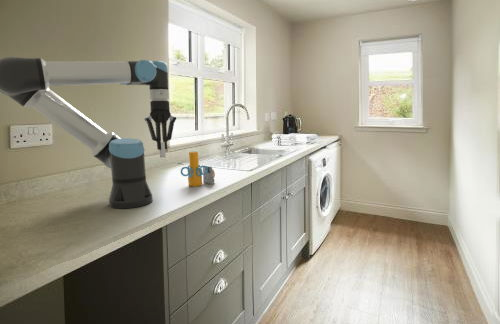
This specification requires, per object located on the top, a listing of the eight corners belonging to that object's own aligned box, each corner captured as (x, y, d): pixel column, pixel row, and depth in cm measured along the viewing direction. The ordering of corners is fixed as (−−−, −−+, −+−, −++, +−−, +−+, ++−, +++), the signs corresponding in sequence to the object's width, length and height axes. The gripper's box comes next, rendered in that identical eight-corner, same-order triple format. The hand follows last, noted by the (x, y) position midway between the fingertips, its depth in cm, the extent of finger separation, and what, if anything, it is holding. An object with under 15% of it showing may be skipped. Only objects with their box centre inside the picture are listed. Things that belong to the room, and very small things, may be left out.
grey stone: (210, 184, 156) (209, 167, 154) (203, 181, 162) (202, 164, 161) (216, 183, 157) (216, 166, 156) (209, 180, 164) (208, 164, 163)
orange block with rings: (200, 188, 149) (198, 153, 146) (178, 187, 152) (176, 153, 149) (211, 182, 160) (210, 150, 158) (191, 181, 163) (189, 150, 161)
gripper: (146, 100, 137) (149, 159, 141) (178, 100, 144) (180, 157, 147) (141, 100, 144) (144, 157, 147) (172, 100, 150) (174, 155, 154)
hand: (162, 157), depth 147 cm, fingers closed
